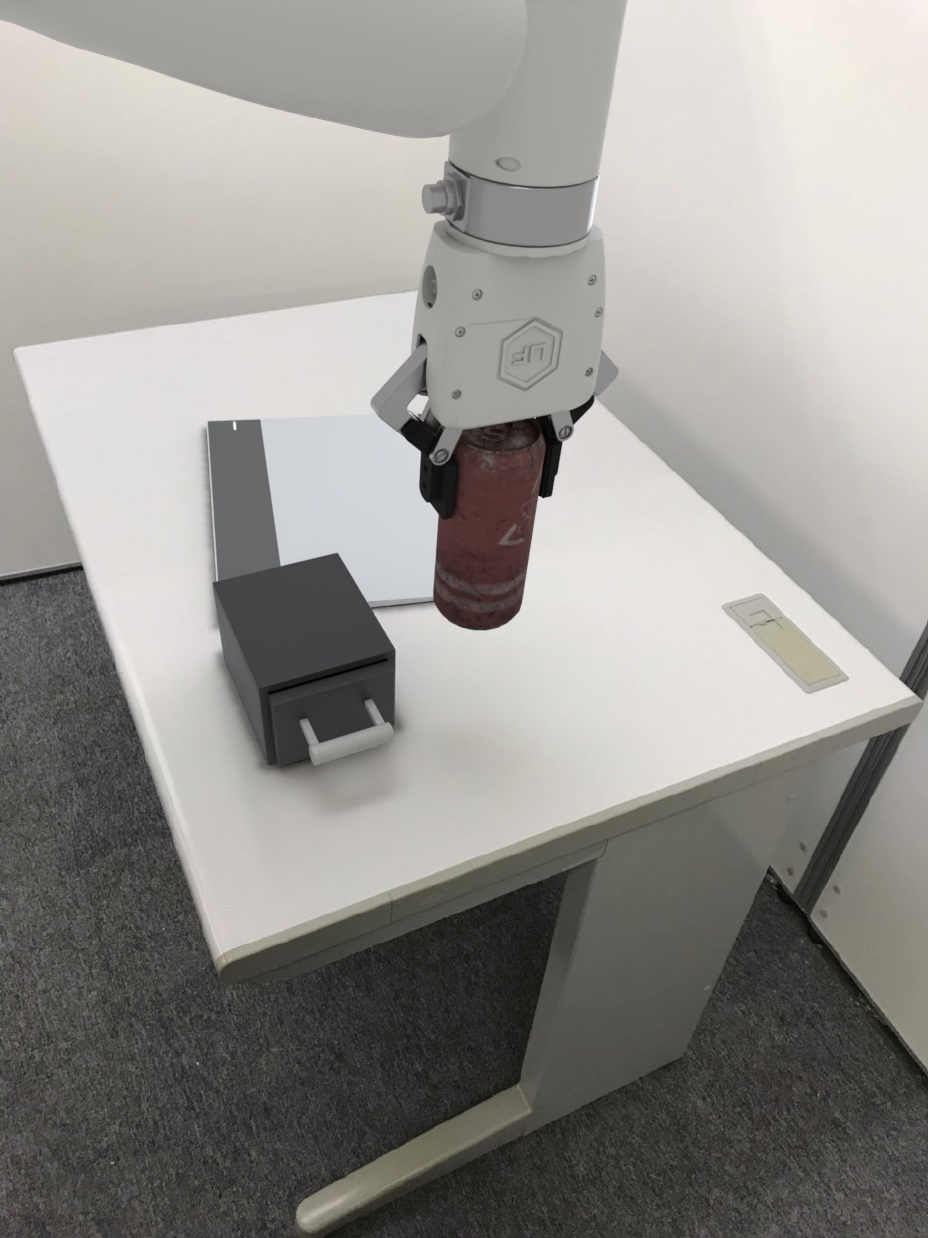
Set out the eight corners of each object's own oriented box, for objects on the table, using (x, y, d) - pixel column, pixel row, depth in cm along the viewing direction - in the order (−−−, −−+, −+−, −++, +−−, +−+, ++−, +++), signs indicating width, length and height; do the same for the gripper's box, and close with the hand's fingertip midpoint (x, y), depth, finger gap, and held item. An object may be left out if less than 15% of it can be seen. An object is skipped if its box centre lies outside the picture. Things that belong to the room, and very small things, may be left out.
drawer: (414, 768, 73) (416, 708, 68) (296, 807, 70) (290, 746, 65) (342, 637, 83) (340, 577, 78) (236, 666, 80) (228, 605, 75)
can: (499, 567, 70) (521, 392, 60) (534, 624, 65) (564, 445, 56) (419, 581, 68) (429, 403, 59) (450, 641, 64) (466, 459, 54)
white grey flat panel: (501, 593, 89) (503, 583, 89) (219, 623, 84) (218, 613, 83) (432, 414, 112) (433, 405, 111) (207, 429, 107) (206, 420, 106)
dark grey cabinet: (394, 725, 77) (396, 649, 71) (267, 765, 73) (258, 688, 68) (340, 627, 85) (337, 551, 79) (223, 658, 81) (212, 582, 76)
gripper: (389, 245, 43) (381, 561, 55) (702, 213, 50) (635, 502, 62) (332, 188, 48) (336, 490, 60) (624, 166, 54) (575, 442, 66)
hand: (488, 494), depth 61 cm, fingers closed on can, 6 cm apart
